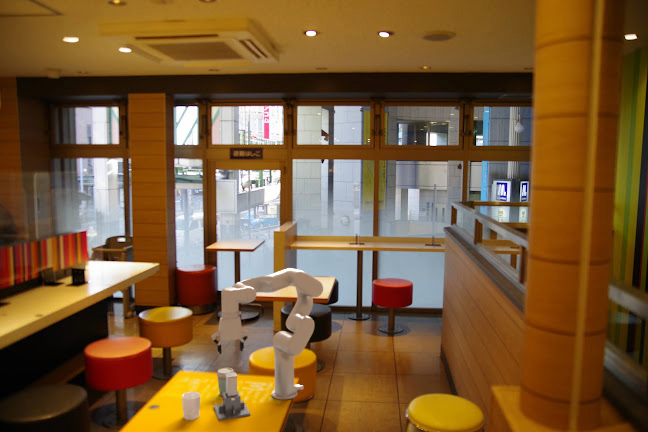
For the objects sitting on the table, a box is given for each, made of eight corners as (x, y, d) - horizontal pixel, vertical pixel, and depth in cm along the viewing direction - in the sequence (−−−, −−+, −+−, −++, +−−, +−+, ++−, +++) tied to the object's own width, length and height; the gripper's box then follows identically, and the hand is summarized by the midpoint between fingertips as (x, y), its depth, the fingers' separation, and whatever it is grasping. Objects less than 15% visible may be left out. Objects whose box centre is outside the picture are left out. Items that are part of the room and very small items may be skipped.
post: (235, 406, 240) (235, 372, 239) (237, 410, 236) (237, 376, 235) (225, 407, 239) (225, 373, 237) (227, 411, 234) (227, 377, 233)
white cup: (193, 411, 238) (193, 390, 237) (204, 416, 233) (203, 394, 232) (178, 417, 232) (178, 395, 231) (189, 422, 227) (189, 400, 226)
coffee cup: (230, 398, 251) (230, 374, 251) (214, 396, 253) (213, 372, 252) (237, 391, 260) (236, 367, 259) (221, 389, 262) (220, 366, 261)
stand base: (243, 402, 247) (243, 386, 246) (250, 415, 234) (250, 398, 233) (213, 407, 242) (213, 390, 241) (219, 420, 229) (218, 403, 228)
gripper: (247, 311, 241) (247, 347, 242) (209, 314, 234) (210, 351, 236) (250, 315, 234) (251, 352, 235) (212, 319, 227) (212, 356, 229)
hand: (230, 351), depth 235 cm, fingers open, 9 cm apart
